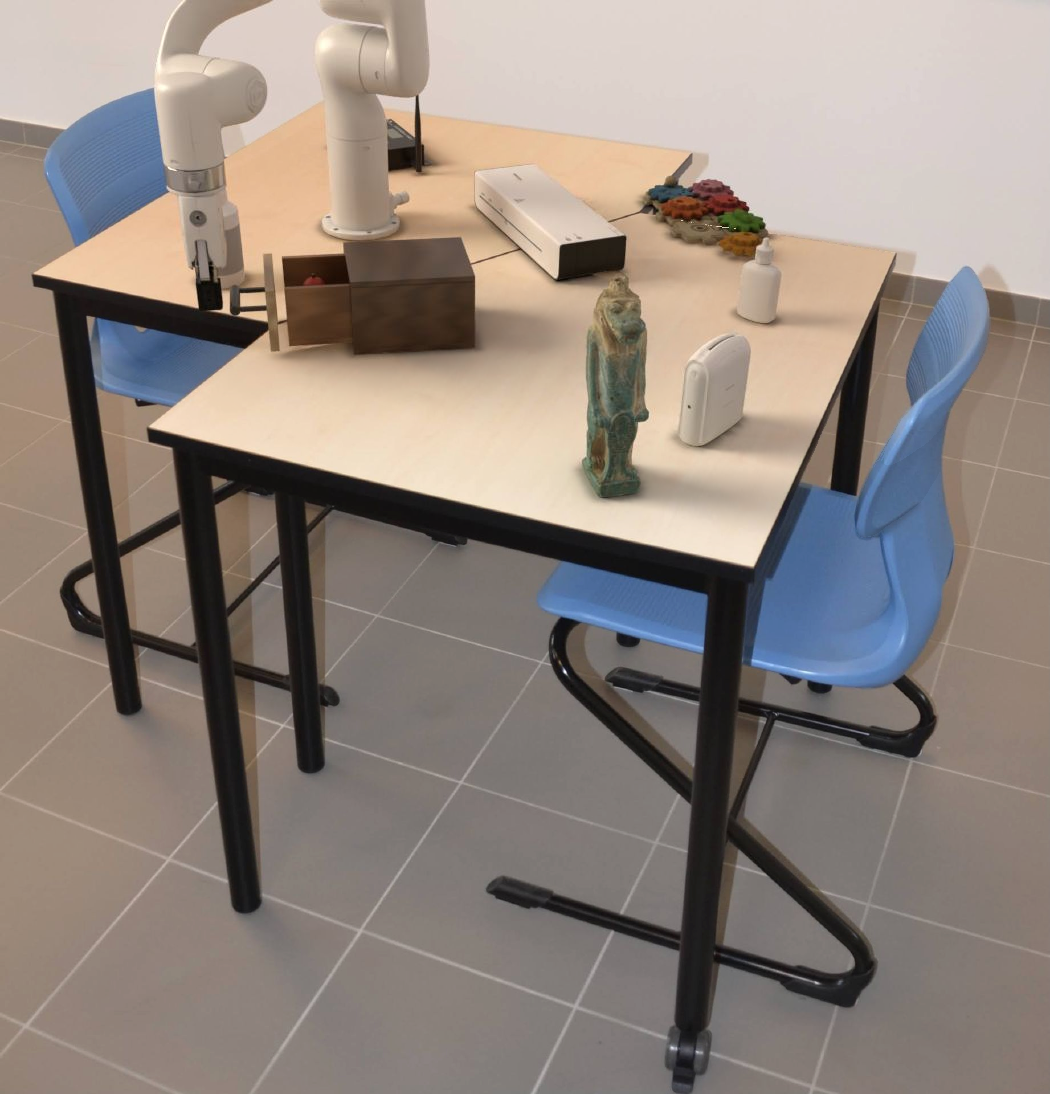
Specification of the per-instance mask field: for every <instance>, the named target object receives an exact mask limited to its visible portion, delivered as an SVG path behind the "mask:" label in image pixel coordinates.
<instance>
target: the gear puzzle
mask: <svg viewBox="0 0 1050 1094" xmlns="http://www.w3.org/2000/svg"><path fill="white" fill-rule="evenodd" d="M734 195H735V192H734V190H732V189H731V186H730V185H726V184H724V182H723V181H721V180H718V179H711V178H707V179H701V180H700V181H698V182H693V183H692V185H691V186H689V187H684V186H683V185H682V184H677V178H676V177H675V175H674V176H673V175H668V176H666V177H665V179H664V185H663V184H655V185H654V187H652V188H649V189H648V191H646V192H645V196H643V197H642V202H643V204H644V205H645V206H653V207H655V209H656V210H658V211H657V212H655V218H656V219H657V220H658V221H659V222H663V221H666V222H667V223H668V224H669V225H670V226H672V228H671V229H670V234H671V235H672V236H673V237H674V238H679V237H680V238H682V239H683V241H685V243H703V245H714V244H717V242H718V246H719V247H721V248H722V251H723V252H730V253H731V252H732V254H733V255H734V256H740V255H745V256H748V257H753V256H755V254H756V247H757V246H758V245H761V244H762V242H763V239H764V238H767V237H768V235H769V231H768V230H767V228H766V227H767V223H766V222H765V221H764V217H762V216H759V215H755V214H754V213H753V212H750V206H748V204H747V201H743V200H740V199H739V196H734ZM681 220H683V221H681ZM691 222H692V223H691ZM705 224H707V225H705ZM708 225H709V226H708ZM710 225H712V226H710ZM716 226H722V227H729V228H722V227H716ZM734 228H736V229H734Z"/></svg>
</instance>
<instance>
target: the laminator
mask: <svg viewBox="0 0 1050 1094" xmlns="http://www.w3.org/2000/svg"><path fill="white" fill-rule="evenodd" d="M473 179H474V181H473V183H474V188H473V189H474V190H473V193H474V194H473V196H474V197H473V198H474V205H475V207H476V209H477V210H478V211H479V212H480V213H481V214H482V215H483V216H484V217H485V218H486V219H488V220H489V221H490V223H492V224H493V225H494V226H495V227H496V228H497V229H498V230H499V231H500V232H502V233H503V235H505V236H506V237H507V238H508V239H509V240H510V241H511V242H513V243H514V245H516V246H517V247H518V248H519V249H520V250H521V251H522V252H523V253H524V254H526V256H528V257H529V258H530V259H531V260H532V261H533V262H534V263H535V264H536V265H537V266H538V267H539V268H541V269H542V270H543V271H544V272H545V273H546V274H547V275H548V276H549V277H550V278H551V279H553V280H554V281H559V280H564V279H570V278H576V277H583V276H589V275H594V274H601V273H607V272H614V271H624V268H625V264H626V254H627V253H626V251H627V240H628V239H627V236H626V235H625V234H624V233H623V232H621V231H620V230H619V229H618V228H617V227H615V226H614V225H613V224H612V223H610V222H609V221H608V220H606V219H605V218H604V217H602V216H601V215H600V214H599V213H597V212H596V211H595V210H594V209H592V207H590V206H589V205H588V204H586V203H584V201H582V200H581V199H580V198H579V197H578V196H576V195H574V194H573V193H572V192H571V191H570V190H568V189H567V188H566V187H564V186H563V185H562V184H561V183H559V182H558V181H557V180H556V179H555V178H553V177H552V176H550V174H548V173H547V172H545V171H544V170H543V169H542V168H540V167H539V166H537V165H536V164H535V163H527V164H519V165H511V166H502V167H494V168H487V169H486V168H485V169H477V170H474V178H473Z"/></svg>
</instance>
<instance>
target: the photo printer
mask: <svg viewBox="0 0 1050 1094" xmlns="http://www.w3.org/2000/svg"><path fill="white" fill-rule="evenodd" d="M751 351H752V350H751V344H750V342H749V340H748V338H747V337H746V336H745V335H741V334H738V333H737V332H729V333H723V334H720V335H718V336H715V337H714V338H712V339H710V340H709V341H707V342H706V343H704V344H703V345H702V346H701V347H699V348H698V349H697V350H696V351H695V352H694V353H693V354H692V355H691V356H690V358H689V359H688V360H687V362H686V364H685V366H684V371H683V381H682V389H681V391H682V392H681V400H680V410H679V420H678V429H677V435H678V437H680V441H682V443H684V444H686V445H688V446H693V447H699V446H704V445H706V444H708V443H710V442H712V441H713V440H715V439H716V438H717V437H719V436H720V435H722V434H723V433H725V432H726V431H728V430H729V429H731V428H732V427H733V426H735V425H736V424H738V423H739V421H740V420H741V419H742V418H743V417H742V416H743V414H744V413H743V412H744V407H745V399H746V392H747V384H748V378H749V377H748V376H749V369H750V362H751V353H752V352H751Z"/></svg>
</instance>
